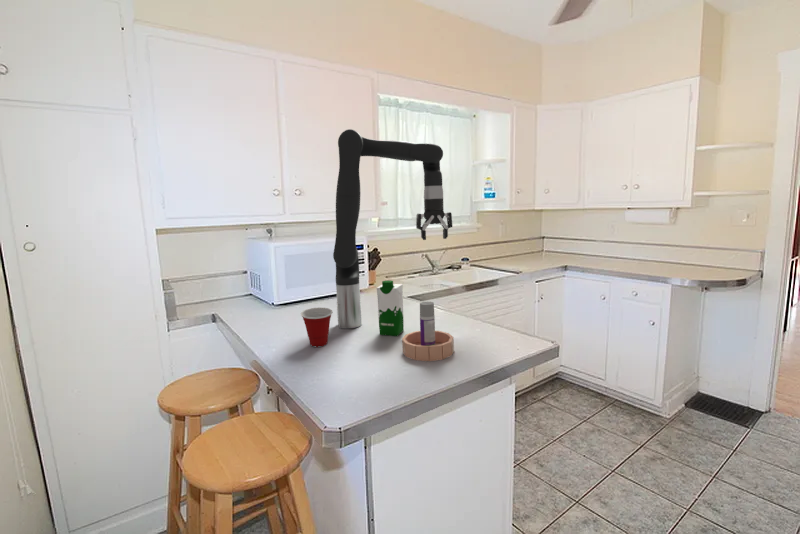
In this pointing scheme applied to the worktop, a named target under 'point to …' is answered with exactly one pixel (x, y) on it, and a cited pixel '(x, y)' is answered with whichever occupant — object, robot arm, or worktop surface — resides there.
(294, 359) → the worktop surface
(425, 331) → the container
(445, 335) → the bowl
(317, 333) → the plastic cup
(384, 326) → the milk carton
